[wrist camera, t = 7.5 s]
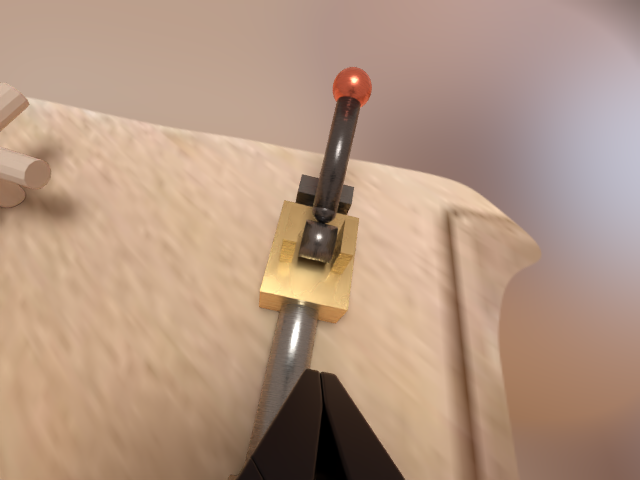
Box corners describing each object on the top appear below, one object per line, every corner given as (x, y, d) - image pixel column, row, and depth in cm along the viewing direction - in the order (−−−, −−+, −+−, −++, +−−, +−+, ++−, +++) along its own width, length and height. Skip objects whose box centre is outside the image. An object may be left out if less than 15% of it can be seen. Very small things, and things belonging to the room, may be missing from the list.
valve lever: (336, 264, 19) (379, 64, 21) (293, 254, 19) (340, 53, 20) (330, 264, 22) (369, 87, 23) (293, 256, 22) (334, 77, 23)
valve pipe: (307, 524, 18) (331, 577, 12) (205, 507, 17) (182, 554, 12) (350, 217, 28) (374, 168, 22) (286, 202, 28) (295, 147, 22)
